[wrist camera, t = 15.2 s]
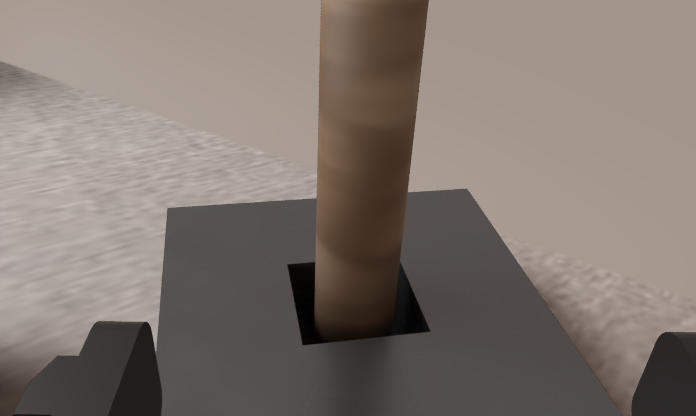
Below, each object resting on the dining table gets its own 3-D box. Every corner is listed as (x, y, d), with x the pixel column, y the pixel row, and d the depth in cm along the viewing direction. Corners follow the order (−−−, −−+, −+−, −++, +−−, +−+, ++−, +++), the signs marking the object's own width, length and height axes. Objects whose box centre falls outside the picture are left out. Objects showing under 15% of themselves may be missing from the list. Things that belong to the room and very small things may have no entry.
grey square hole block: (453, 270, 33) (467, 188, 31) (588, 521, 22) (629, 425, 19) (178, 295, 31) (167, 208, 28) (166, 595, 19) (145, 495, 16)
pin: (376, 359, 28) (412, -21, 19) (393, 414, 25) (443, 6, 17) (308, 367, 27) (313, -21, 19) (318, 424, 25) (331, 7, 16)
